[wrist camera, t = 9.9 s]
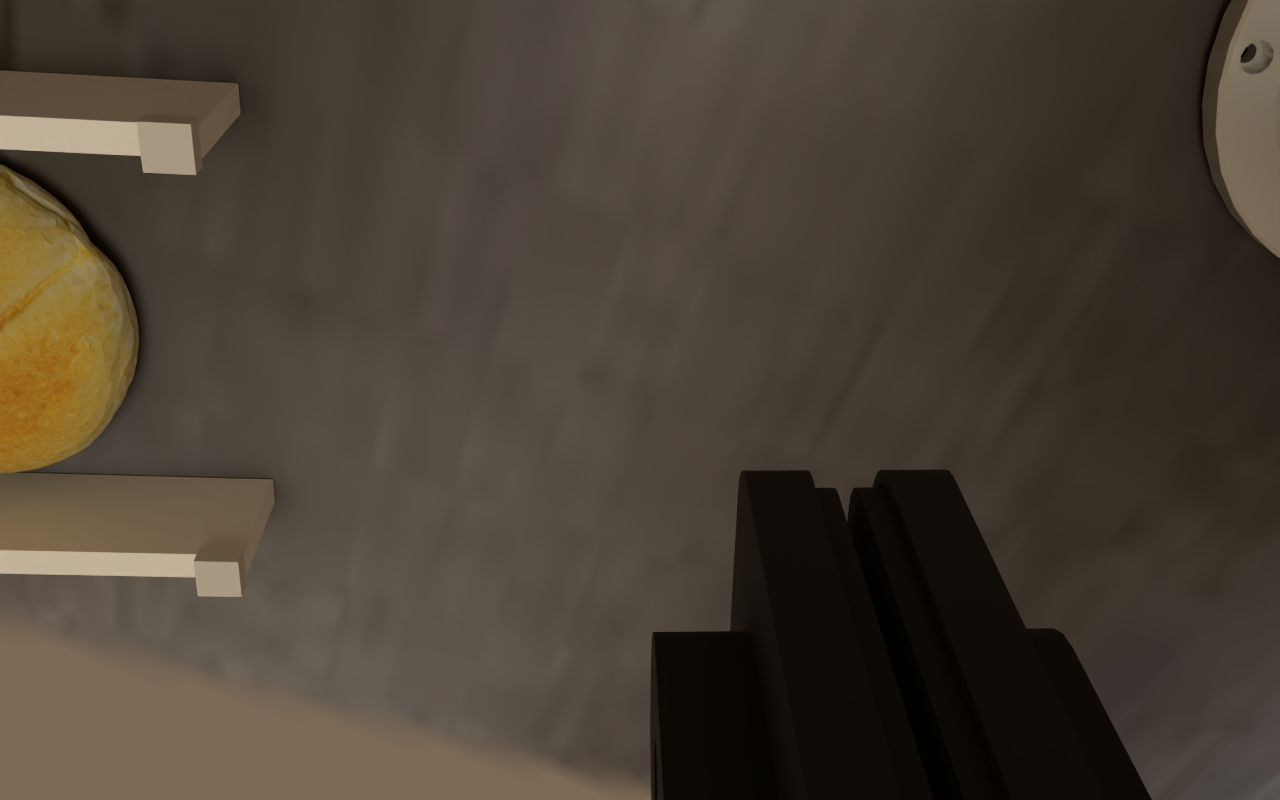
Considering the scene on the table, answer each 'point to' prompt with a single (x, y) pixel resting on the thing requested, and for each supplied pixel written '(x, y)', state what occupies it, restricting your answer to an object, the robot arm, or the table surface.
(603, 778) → the table surface
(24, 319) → the bread roll
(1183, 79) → the table surface
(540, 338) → the table surface
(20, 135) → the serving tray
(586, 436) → the table surface
